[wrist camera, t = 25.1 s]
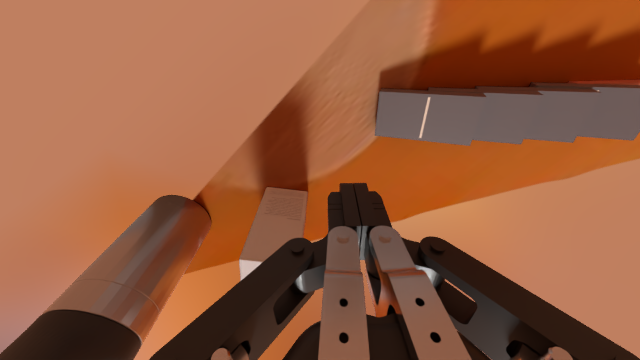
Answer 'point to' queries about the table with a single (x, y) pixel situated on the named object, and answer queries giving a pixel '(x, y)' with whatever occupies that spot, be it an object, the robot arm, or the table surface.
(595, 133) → the domino
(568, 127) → the domino
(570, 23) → the table surface
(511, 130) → the domino
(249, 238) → the small box
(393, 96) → the domino
